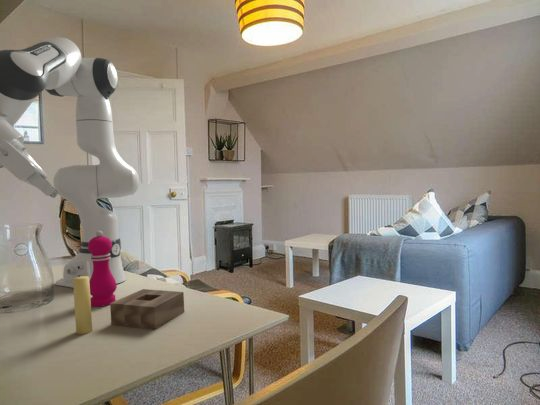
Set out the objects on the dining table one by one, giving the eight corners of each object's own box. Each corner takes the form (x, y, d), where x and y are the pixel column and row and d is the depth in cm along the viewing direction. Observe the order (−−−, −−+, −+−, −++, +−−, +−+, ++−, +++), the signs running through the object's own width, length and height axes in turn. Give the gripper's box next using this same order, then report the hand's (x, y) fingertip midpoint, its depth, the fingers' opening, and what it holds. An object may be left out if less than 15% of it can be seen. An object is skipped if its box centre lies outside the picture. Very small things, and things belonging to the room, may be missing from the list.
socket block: (111, 324, 90) (110, 303, 90) (143, 308, 101) (143, 289, 101) (155, 329, 86) (154, 307, 86) (184, 311, 97) (183, 292, 97)
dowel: (72, 333, 85) (69, 279, 85) (84, 328, 88) (81, 275, 88) (84, 334, 84) (81, 280, 84) (95, 329, 87) (92, 276, 87)
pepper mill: (88, 301, 108) (84, 230, 107) (115, 297, 112) (112, 228, 111) (89, 309, 102) (85, 233, 101) (118, 304, 105) (114, 230, 104)
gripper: (0, 123, 69) (62, 180, 73) (21, 143, 88) (69, 187, 91) (-31, 147, 67) (34, 204, 71) (-3, 162, 86) (47, 206, 90)
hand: (54, 194), depth 81 cm, fingers open, 8 cm apart
